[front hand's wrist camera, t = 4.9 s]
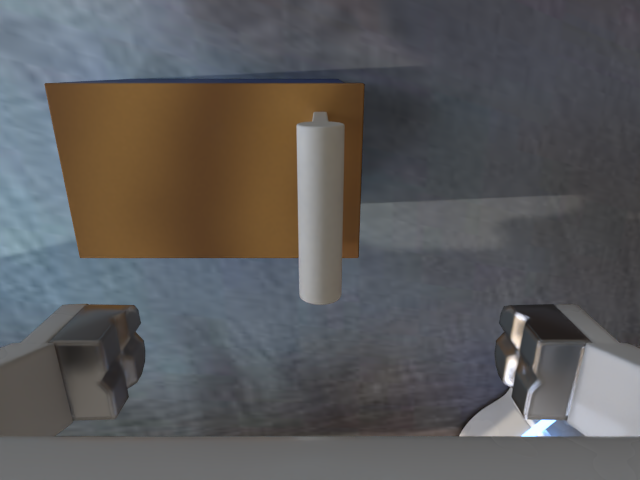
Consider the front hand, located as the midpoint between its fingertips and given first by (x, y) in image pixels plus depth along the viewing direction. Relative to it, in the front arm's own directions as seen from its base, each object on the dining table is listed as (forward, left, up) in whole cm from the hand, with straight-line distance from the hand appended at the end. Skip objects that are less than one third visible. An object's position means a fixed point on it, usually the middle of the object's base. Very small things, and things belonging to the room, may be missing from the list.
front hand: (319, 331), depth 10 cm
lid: (+6, -1, -16) cm, 17 cm away
